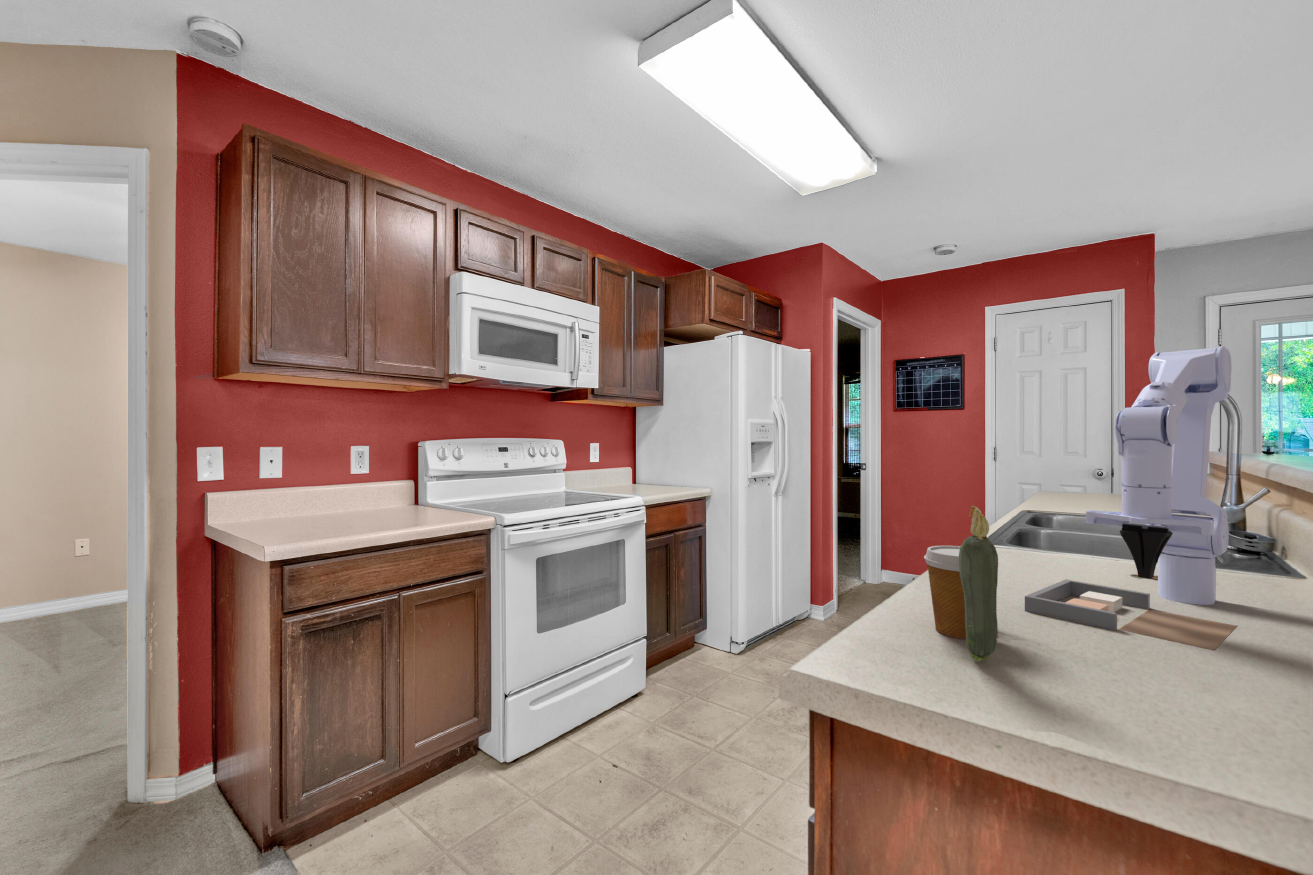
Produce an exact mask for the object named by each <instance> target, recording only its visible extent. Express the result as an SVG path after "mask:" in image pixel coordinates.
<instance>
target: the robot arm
mask: <svg viewBox="0 0 1313 875" xmlns="http://www.w3.org/2000/svg"><path fill="white" fill-rule="evenodd" d="M1232 369H1233V368H1232V355H1231V352H1230V349H1228V348H1226V347H1225V346H1223V345H1221V346H1218V347H1211V348H1210V347H1208V348H1198V349H1190V350H1189V349H1188V350H1177V351H1168V352H1167V351H1165V352H1162V351H1157V352H1154V353H1153V354H1152V355H1151V356H1150V358H1149V362H1148V376H1149V381H1150V384H1148V385H1147V384H1146V386H1145V387H1143V388H1142V389H1141V391H1140V393H1138V396H1137V397H1136V399H1135V401H1134V402H1133V403H1132V405H1131V407H1125V408H1124V409H1123V410H1120V411H1118V412H1117V414H1116V416H1115V423H1114V430H1115V432H1114V433H1115V438H1116V441H1117V452H1118V456H1121V511H1106V510H1102V511H1101V510H1091V509H1090V510H1087V511H1085V523H1086V524H1091V525H1095V524H1096V525H1097V524H1098V525H1106V526H1107V525H1108V526H1116V527H1118V526H1119V527H1121V530H1119V534H1120V537H1121V538H1122V540H1123V541H1124V542H1125V544H1126V546H1127V547H1128V548H1127V549H1128V550H1129V551H1130V554H1131V556H1132V559H1133V562H1134V564H1135V568H1136V573H1137V577H1138V578H1144V579H1149V580H1150V579H1152V578H1154V577H1155V570H1156V567H1157V596H1158V597H1159V598H1161V599H1165V600H1169V601H1173V602H1177V603H1182V604H1188V605H1199V606H1200V605H1201V606H1212V605H1215V604H1216V602H1218V600H1217V567H1216V557H1218V556H1222V555H1223V554H1224V553H1226V552H1227V549H1228V547H1229V541H1230V540H1229V537H1230V536H1229V535H1230V532H1229V531H1230V530H1229V524H1228V514H1227V513H1226V511H1225V509H1224V508H1223V507H1222V506H1220V505H1219V504H1217V503H1216V502H1214V501H1213V500H1211V499H1209V498H1207V487H1208V484H1207V483H1208V469H1209V468H1208V467H1209V456H1210V455H1209V453H1210V440H1211V425H1212V423H1211V422H1212V416H1213V412H1214V408H1215V405H1216V404H1217V403H1219V402H1221V401H1224V400H1225V399H1228V397H1229V393H1230V391H1231V383H1232ZM1172 446H1173V447H1172ZM1219 602H1222V603H1223V601H1221V600H1219Z"/></svg>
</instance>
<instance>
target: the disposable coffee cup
mask: <svg viewBox="0 0 1313 875" xmlns="http://www.w3.org/2000/svg"><path fill="white" fill-rule="evenodd" d="M960 547H961V545H960V546H959V545H931V546H929V547H927V550H926V554H924V556H923V559H924V560H925V563H926V564H927V572H928V579H929V581H928V582H929V586H930V595H931V603H932V611H933V619H934V625H935V626H934V627H935V630H936V631H937V632H938V633H939V634H942V635H945V636H947V637H951V638H955V639H963V640H966V627H965V601H964V592H963V587H962V583H961V578H960V570H959V550H960Z"/></svg>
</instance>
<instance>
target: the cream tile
mask: <svg viewBox="0 0 1313 875" xmlns="http://www.w3.org/2000/svg"><path fill="white" fill-rule="evenodd" d="M1079 599H1081V600H1086V601H1091V602H1097V603H1102V604H1107V605H1108V611H1109V612H1114V613H1117V612H1118V611H1120V610H1122V609H1123V604H1122V597H1119V596H1113V595H1108V594H1102V593H1097V592H1091V591H1088V592H1086V593H1084V594H1082V595H1080V596H1079Z"/></svg>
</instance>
